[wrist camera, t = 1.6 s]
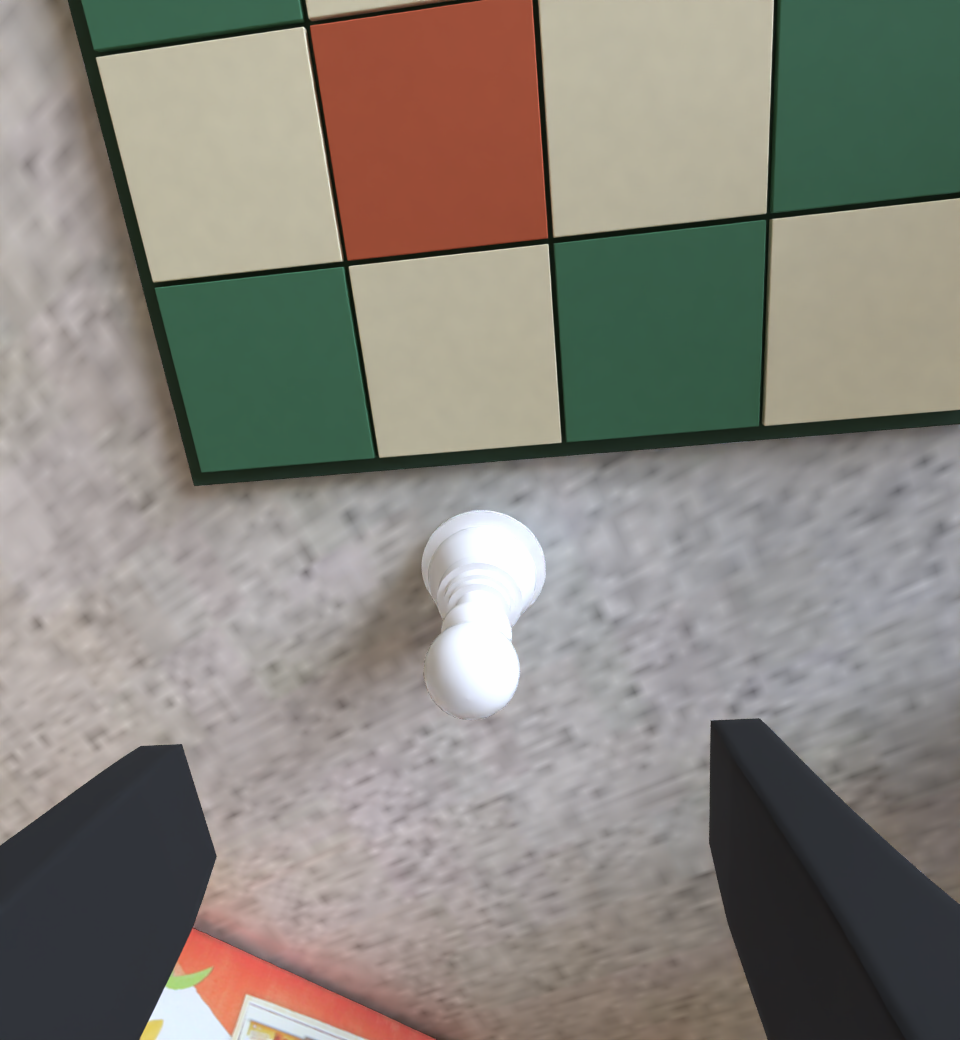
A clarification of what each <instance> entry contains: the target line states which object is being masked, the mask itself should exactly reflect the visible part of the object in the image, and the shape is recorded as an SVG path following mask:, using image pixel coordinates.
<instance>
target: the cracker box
mask: <svg viewBox="0 0 960 1040" xmlns="http://www.w3.org/2000/svg"><path fill="white" fill-rule="evenodd" d="M140 1040H437V1039H435V1038H433V1037H430V1036H428V1035H426V1034H424V1033H421V1032H419V1031H417V1030H415V1029H412V1028H410V1027H408V1026H406V1025H404V1024H402V1023H400V1022H398V1021H395V1020H393V1019H391V1018H389V1017H387V1016H385V1015H383V1014H380V1013H378V1012H376V1011H374V1010H372V1009H370V1008H367V1007H365V1006H363V1005H361V1004H359V1003H356V1002H354V1001H352V1000H350V999H347V998H345V997H343V996H341V995H339V994H336V993H334V992H332V991H330V990H327V989H325V988H323V987H321V986H319V985H317V984H314V983H312V982H310V981H308V980H306V979H304V978H301V977H299V976H297V975H295V974H293V973H291V972H289V971H286V970H284V969H281V968H279V967H277V966H275V965H273V964H271V963H269V962H267V961H264V960H262V959H260V958H257V957H255V956H253V955H251V954H249V953H247V952H245V951H242V950H240V949H238V948H236V947H234V946H232V945H230V944H227V943H225V942H223V941H221V940H218V939H216V938H214V937H212V936H210V935H207V934H205V933H203V932H201V931H199V930H196V929H194V928H192V930H191V933H190V935H189V937H188V939H187V941H186V944H185V946H184V948H183V950H182V952H181V954H180V957H179V959H178V961H177V963H176V965H175V967H174V969H173V971H172V973H171V975H170V978H169V980H168V982H167V984H166V986H165V988H164V990H163V992H162V994H161V996H160V998H159V1001H158V1003H157V1005H156V1007H155V1009H154V1011H153V1013H152V1015H151V1017H150V1019H149V1021H148V1023H147V1025H146V1027H145V1029H144V1031H143V1033H142V1035H141V1037H140Z"/></svg>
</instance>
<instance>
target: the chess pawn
mask: <svg viewBox="0 0 960 1040" xmlns="http://www.w3.org/2000/svg"><path fill="white" fill-rule="evenodd" d="M545 574H546V565H545V557H544V554H543V551H542V548H541V545H540V544H539V542H538V540H537V539H536V537H535V536H534V534H533V533H532V532H531V531H530V530H529V529H528V528H527V527H526V526H525V525H523V524H522V523H521V522H519V521H518V520H516V519H514V518H512V517H510V516H508V515H506V514H502V513H499V512H495V511H486V510H478V511H469V512H465V513H462V514H458V515H456V516H454V517H452V518H450V519H448V520H447V521H445V522H444V523H443V524H442V525H440V526H439V527H438V528H437V529H436V530H435V532H434V533H433V534H432V535H431V536H430V538H429V540H428V542H427V544H426V546H425V549H424V553H423V557H422V575H423V580H424V583H425V586H426V588H427V591H428V592H429V594H430V595H431V597H432V599H433V601H434V603H435V604H436V606H437V608H438V610H439V612H440V615H441V617H442V618H443V623H442V626H441V633H440V634H439V635H438V636H437V637H436V638H435V640H434V641H433V642H432V644H431V645H430V647H429V649H428V651H427V653H426V657H425V660H424V672H423V675H424V681H425V685H426V688H427V691H428V693H429V695H430V697H431V698H432V700H433V701H434V702H435V704H436V705H437V706H438V707H439V708H440V709H441V710H443V711H444V712H446V713H447V714H449V715H451V716H453V717H456V718H459V719H463V720H480V719H484V718H487V717H490V716H492V715H494V714H495V713H497V712H498V711H500V710H501V709H503V708H504V707H505V706H506V705H507V704H508V703H509V701H510V700H511V698H512V697H513V695H514V693H515V692H516V689H517V686H518V682H519V676H520V666H519V659H518V656H517V653H516V650H515V648H514V647H513V645H512V643H511V636H512V631H511V628H512V626H513V625H514V624H515V623H516V622H517V620H518V618H519V617H520V616H521V615H522V613H523V612H524V611H526V610H527V609H528V608H529V607H530V606H531V605H532V604H533V603H534V602H535V601H536V599H537V597H538V596H539V594H540V592H541V590H542V587H543V584H544V581H545Z"/></svg>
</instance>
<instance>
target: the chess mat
mask: <svg viewBox="0 0 960 1040" xmlns="http://www.w3.org/2000/svg"><path fill="white" fill-rule="evenodd" d="M68 3H69V7H70V11H71V15H72V18H73V22H74V26H75V30H76V34H77V38H78V41H79V45H80V49H81V53H82V57H83V61H84V64H85V68H86V72H87V76H88V80H89V84H90V88H91V91H92V95H93V99H94V103H95V107H96V111H97V114H98V118H99V122H100V126H101V130H102V134H103V137H104V141H105V145H106V149H107V153H108V157H109V160H110V164H111V168H112V172H113V176H114V180H115V183H116V187H117V191H118V195H119V199H120V203H121V207H122V210H123V214H124V218H125V222H126V226H127V230H128V233H129V237H130V241H131V245H132V249H133V253H134V256H135V260H136V264H137V268H138V272H139V276H140V279H141V283H142V287H143V291H144V295H145V299H146V303H147V306H148V310H149V314H150V318H151V322H152V326H153V329H154V333H155V337H156V341H157V345H158V349H159V352H160V356H161V360H162V364H163V368H164V372H165V375H166V379H167V383H168V387H169V391H170V395H171V399H172V402H173V406H174V410H175V414H176V418H177V422H178V425H179V429H180V433H181V437H182V441H183V445H184V448H185V452H186V456H187V460H188V464H189V468H190V471H191V475H192V479H193V483H194V486H200V485H213V484H225V483H237V482H250V481H262V480H274V479H287V478H299V477H311V476H324V475H336V474H348V473H361V472H373V471H385V470H398V469H410V468H422V467H435V466H447V465H459V464H472V463H484V462H496V461H509V460H521V459H533V458H546V457H558V456H570V455H583V454H595V453H607V452H620V451H632V450H644V449H657V448H669V447H681V446H694V445H706V444H718V443H731V442H743V441H755V440H768V439H780V438H793V437H805V436H817V435H830V434H842V433H854V432H867V431H879V430H891V429H904V428H916V427H928V426H941V425H953V424H960V0H68Z"/></svg>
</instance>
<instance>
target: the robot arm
mask: <svg viewBox="0 0 960 1040" xmlns="http://www.w3.org/2000/svg"><path fill="white" fill-rule="evenodd" d="M709 844H710V848H711V853H712V857H713V862H714V866H715V871H716V875H717V880H718V884H719V888H720V893H721V897H722V901H723V905H724V909H725V914H726V918H727V922H728V925H729V928H730V931H731V934H732V937H733V940H734V943H735V946H736V949H737V952H738V955H739V958H740V961H741V963H742V966H743V969H744V972H745V975H746V978H747V981H748V984H749V987H750V990H751V993H752V996H753V998H754V1001H755V1004H756V1007H757V1010H758V1013H759V1016H760V1019H761V1022H762V1024H763V1027H764V1030H765V1033H766V1036H767V1039H768V1040H960V904H958V903H957V902H956V901H955V900H954V899H952V898H951V897H950V896H949V895H948V894H946V893H945V892H944V891H943V890H942V889H941V888H939V887H938V886H937V885H936V884H935V883H933V882H932V881H931V880H930V879H929V878H927V877H926V876H925V875H924V874H923V873H922V872H921V871H919V870H918V869H917V868H916V867H915V866H914V865H913V864H911V863H910V862H909V861H908V860H907V859H906V858H905V857H903V856H902V855H901V854H900V853H899V852H898V851H897V850H896V849H894V848H893V847H892V846H891V845H890V844H889V843H888V842H887V841H886V840H885V839H884V838H882V837H881V836H880V835H879V834H878V833H877V832H876V831H875V830H874V829H873V828H872V827H871V826H869V825H868V824H867V823H866V822H865V821H864V820H863V819H862V818H861V817H860V816H859V815H857V814H856V813H855V812H854V811H853V810H852V809H851V808H850V807H849V806H848V805H847V804H846V803H845V802H844V801H843V800H842V799H841V798H840V797H838V796H837V795H836V794H835V793H834V792H833V791H832V790H831V789H830V788H829V787H828V786H827V785H826V784H825V783H824V782H823V781H822V780H821V779H820V778H819V777H818V776H817V775H816V774H815V773H814V772H813V771H812V770H811V769H810V768H809V767H808V766H807V765H806V764H805V763H804V762H803V761H802V760H801V759H800V758H799V757H798V756H797V755H796V754H795V753H794V752H793V751H792V750H791V749H790V748H789V747H788V746H787V745H786V744H785V743H784V742H783V741H782V740H781V739H780V738H779V737H778V736H777V735H776V734H775V733H774V732H773V731H772V730H771V729H770V728H769V727H768V726H767V725H766V724H765V723H764V722H763V721H762V720H761V719H759V718H758V719H736V720H713V721H711V741H710V821H709ZM216 857H217V856H216V853H215V850H214V846H213V843H212V840H211V837H210V834H209V830H208V827H207V824H206V821H205V817H204V814H203V811H202V808H201V804H200V801H199V798H198V795H197V792H196V788H195V785H194V782H193V779H192V775H191V772H190V769H189V766H188V762H187V759H186V756H185V753H184V750H183V746H182V744H176V745H154V746H140V747H139V748H137V749H135V750H134V751H132V752H131V753H129V754H127V755H126V756H124V757H123V758H121V759H120V760H118V761H117V762H115V763H114V764H112V765H111V766H110V767H108V768H107V769H105V770H104V771H102V772H101V773H100V774H98V775H97V776H95V777H94V778H93V779H91V780H90V781H88V782H87V783H86V784H84V785H83V786H82V787H80V788H79V789H77V790H76V791H75V792H73V793H72V794H71V795H69V796H68V797H66V798H65V799H64V800H62V801H61V802H60V803H58V804H57V805H56V806H54V807H53V808H51V809H50V810H49V811H47V812H46V813H45V814H43V815H42V816H40V817H39V818H38V819H36V820H35V821H34V822H32V823H31V824H29V825H28V826H27V827H25V828H24V829H23V830H21V831H20V832H18V833H17V834H16V835H14V836H13V837H12V838H10V839H9V840H7V841H6V842H5V843H3V844H2V845H1V846H0V1040H140V1037H141V1035H142V1033H143V1031H144V1029H145V1027H146V1025H147V1023H148V1021H149V1019H150V1017H151V1015H152V1013H153V1011H154V1009H155V1007H156V1005H157V1003H158V1001H159V998H160V996H161V994H162V992H163V990H164V988H165V986H166V984H167V982H168V980H169V978H170V975H171V973H172V971H173V969H174V967H175V965H176V963H177V961H178V959H179V957H180V954H181V952H182V950H183V948H184V946H185V944H186V941H187V939H188V937H189V935H190V933H191V930H192V928H193V925H194V922H195V919H196V916H197V914H198V911H199V908H200V905H201V903H202V900H203V897H204V894H205V891H206V888H207V885H208V882H209V878H210V875H211V872H212V869H213V866H214V863H215V860H216Z"/></svg>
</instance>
